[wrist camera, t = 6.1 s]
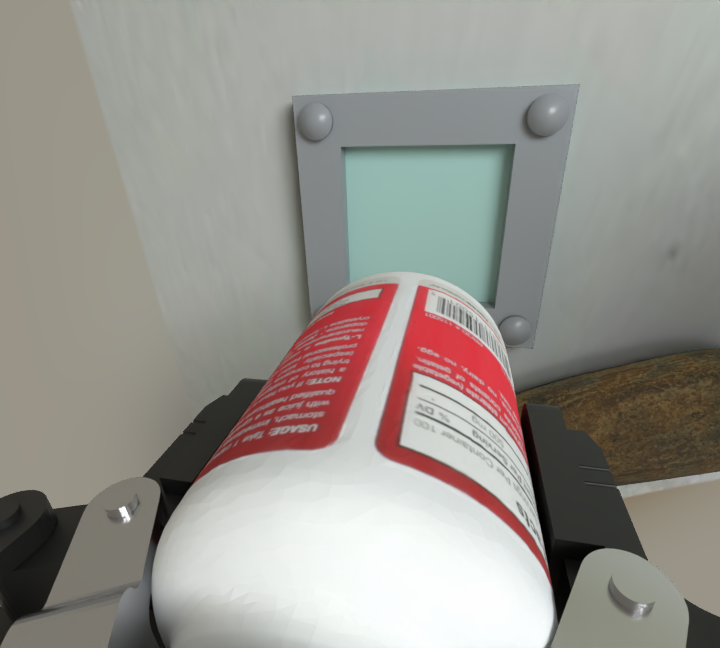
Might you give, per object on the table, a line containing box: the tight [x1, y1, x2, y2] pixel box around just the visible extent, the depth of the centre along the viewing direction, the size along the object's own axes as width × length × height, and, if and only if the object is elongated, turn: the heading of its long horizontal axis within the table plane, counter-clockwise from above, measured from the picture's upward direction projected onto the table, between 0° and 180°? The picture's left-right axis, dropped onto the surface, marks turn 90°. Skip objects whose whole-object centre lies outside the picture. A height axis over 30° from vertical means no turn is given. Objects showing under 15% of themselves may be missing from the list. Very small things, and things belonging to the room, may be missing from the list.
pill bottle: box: [151, 271, 559, 648], centre depth 8 cm, size 6×6×11 cm
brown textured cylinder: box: [516, 349, 720, 486], centre depth 25 cm, size 15×7×7 cm, turn 120°
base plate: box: [292, 84, 580, 349], centre depth 24 cm, size 14×14×2 cm
